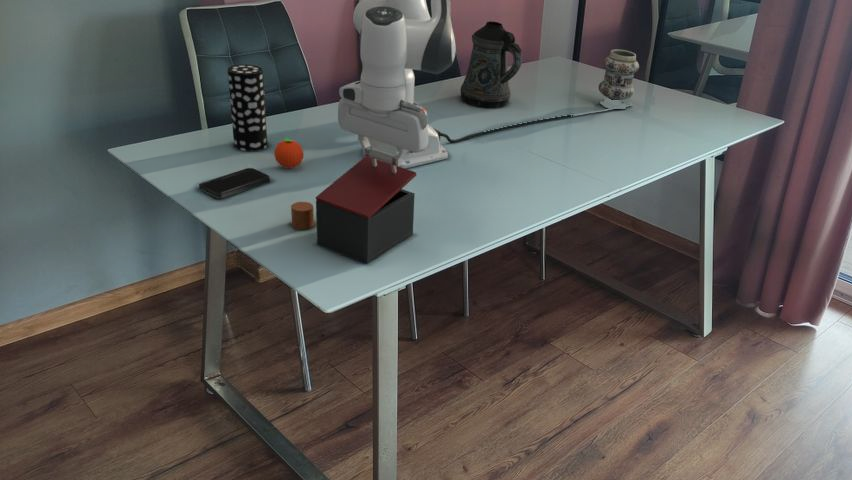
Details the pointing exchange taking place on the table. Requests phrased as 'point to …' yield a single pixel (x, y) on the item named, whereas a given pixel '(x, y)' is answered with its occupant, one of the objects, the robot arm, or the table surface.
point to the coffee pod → (302, 215)
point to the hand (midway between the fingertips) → (382, 160)
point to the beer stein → (490, 67)
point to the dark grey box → (366, 228)
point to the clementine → (288, 153)
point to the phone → (234, 183)
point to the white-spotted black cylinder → (247, 107)
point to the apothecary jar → (619, 75)
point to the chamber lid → (367, 185)
